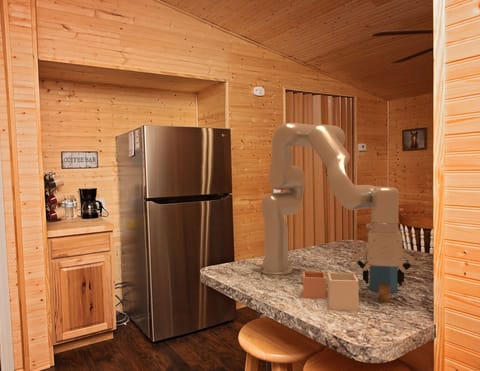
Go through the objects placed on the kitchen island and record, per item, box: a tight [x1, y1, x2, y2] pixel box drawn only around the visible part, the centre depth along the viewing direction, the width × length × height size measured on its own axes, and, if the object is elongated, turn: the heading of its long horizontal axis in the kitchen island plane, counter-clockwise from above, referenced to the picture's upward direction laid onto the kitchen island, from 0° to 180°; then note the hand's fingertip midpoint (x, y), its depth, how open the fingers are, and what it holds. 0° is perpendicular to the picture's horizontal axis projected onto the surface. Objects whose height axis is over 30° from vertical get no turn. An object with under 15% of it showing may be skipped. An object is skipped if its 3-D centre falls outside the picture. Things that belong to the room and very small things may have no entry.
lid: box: [378, 284, 391, 304], centre depth 112 cm, size 9×9×6 cm
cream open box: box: [327, 272, 360, 312], centre depth 109 cm, size 8×8×9 cm
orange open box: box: [302, 271, 327, 300], centre depth 118 cm, size 7×7×7 cm
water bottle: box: [368, 229, 399, 294], centre depth 123 cm, size 9×9×25 cm
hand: (382, 283), depth 112 cm, fingers open, 9 cm apart
